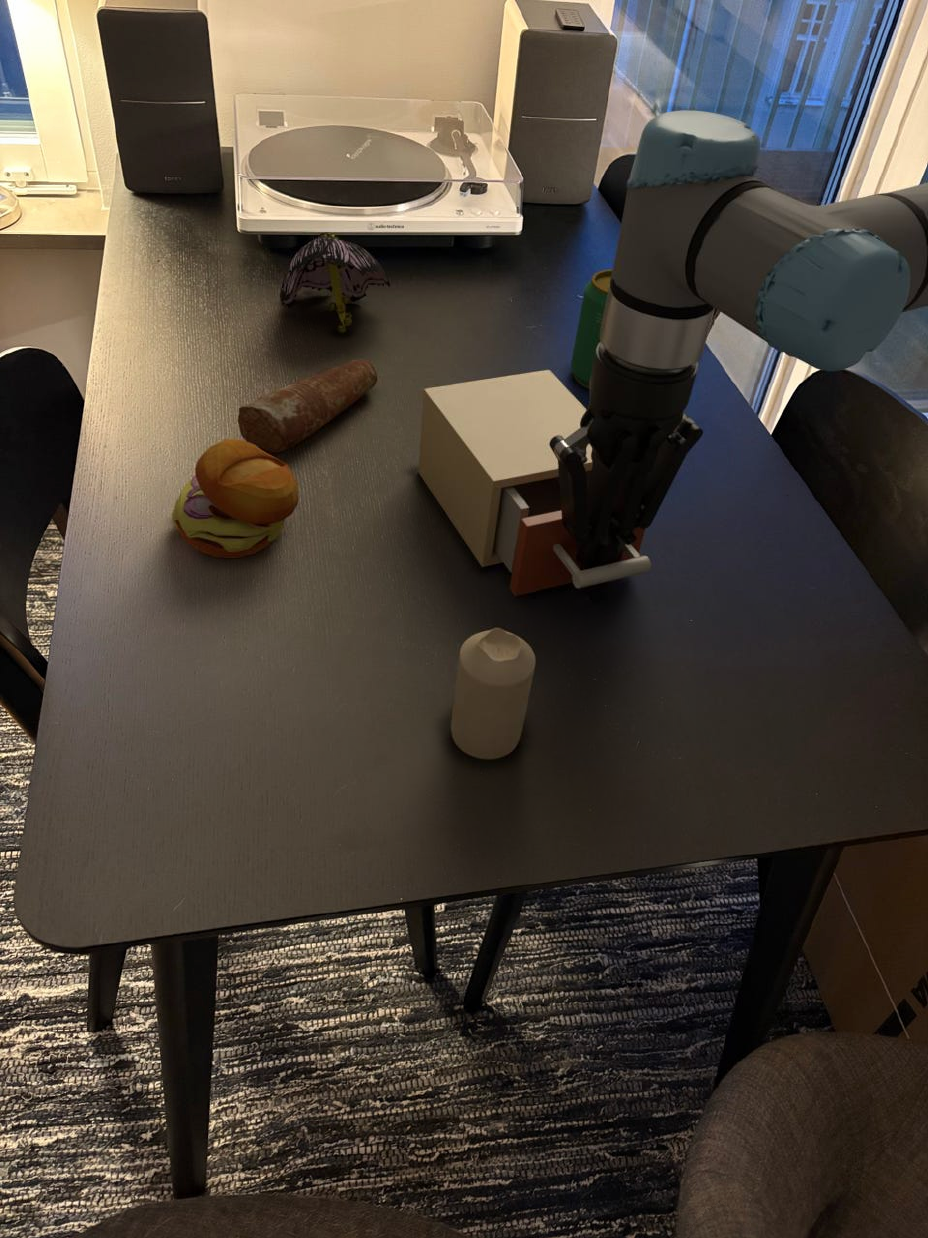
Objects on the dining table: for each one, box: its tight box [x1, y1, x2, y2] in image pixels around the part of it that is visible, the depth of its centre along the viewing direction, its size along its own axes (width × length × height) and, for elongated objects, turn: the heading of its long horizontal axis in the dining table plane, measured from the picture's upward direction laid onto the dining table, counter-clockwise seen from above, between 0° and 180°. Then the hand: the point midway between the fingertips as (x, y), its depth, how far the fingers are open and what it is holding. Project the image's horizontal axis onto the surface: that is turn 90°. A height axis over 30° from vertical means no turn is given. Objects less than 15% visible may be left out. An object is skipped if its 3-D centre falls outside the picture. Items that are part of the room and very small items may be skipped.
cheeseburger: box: [171, 438, 299, 559], centre depth 88 cm, size 10×11×10 cm
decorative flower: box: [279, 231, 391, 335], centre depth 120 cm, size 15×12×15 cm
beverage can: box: [570, 268, 613, 389], centre depth 114 cm, size 8×8×12 cm
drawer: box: [493, 470, 652, 597], centre depth 89 cm, size 20×13×8 cm, turn 24°
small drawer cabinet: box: [417, 369, 593, 568], centre depth 94 cm, size 16×14×10 cm
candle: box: [450, 627, 536, 760], centre depth 72 cm, size 6×6×10 cm
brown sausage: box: [237, 358, 378, 453], centre depth 103 cm, size 6×19×6 cm, turn 145°
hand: (590, 591), depth 86 cm, fingers closed
